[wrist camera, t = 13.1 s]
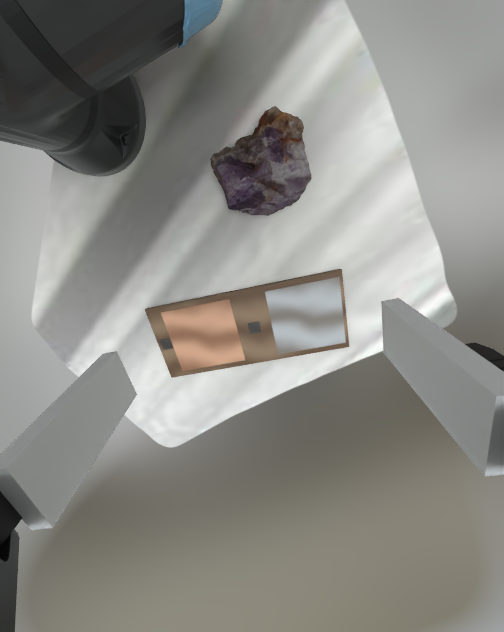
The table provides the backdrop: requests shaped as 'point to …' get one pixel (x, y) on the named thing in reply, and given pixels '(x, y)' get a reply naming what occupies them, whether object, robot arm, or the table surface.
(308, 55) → the table surface
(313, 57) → the table surface
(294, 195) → the rock
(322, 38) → the table surface
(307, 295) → the board
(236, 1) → the table surface
